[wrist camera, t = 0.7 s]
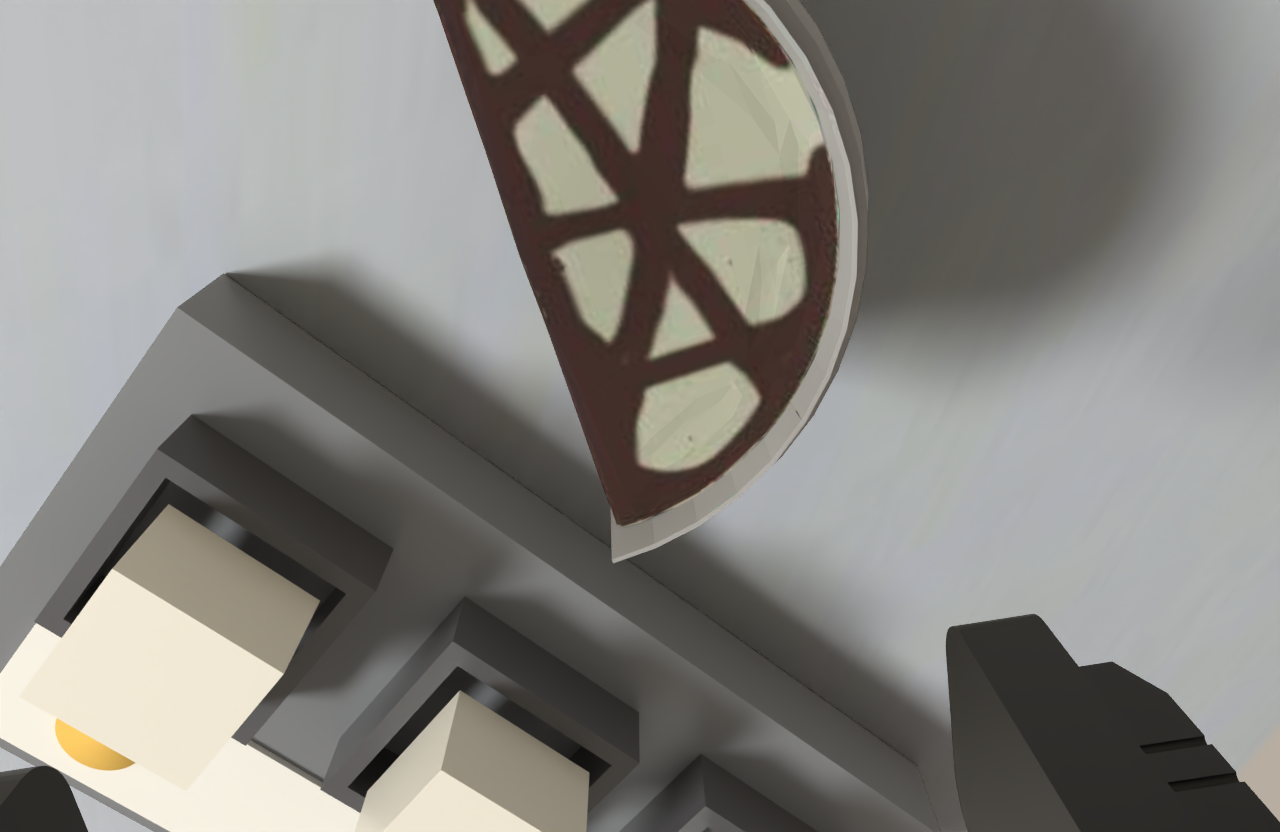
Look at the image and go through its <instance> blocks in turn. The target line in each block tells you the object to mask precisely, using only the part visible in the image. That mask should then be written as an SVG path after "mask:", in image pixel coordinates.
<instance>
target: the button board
mask: <svg viewBox="0 0 1280 832" xmlns="http://www.w3.org/2000/svg"><path fill="white" fill-rule="evenodd" d="M168 504H169V505H171V506H173V507H174V508H176V509H177V510H179V511H180V512H182V513H183V514H185V515H187V516H188V517H190V518H191V519H193V520H194V521H196V522H198V523H199V524H201V525H202V526H204V527H205V528H207V529H209V530H210V531H212V532H213V533H215V534H216V535H218V536H219V537H221V538H223V539H224V540H226V541H227V542H229V543H230V544H232V545H234V546H235V547H237V548H238V549H240V550H241V551H243V552H245V553H246V554H248V555H249V556H251V557H252V558H254V559H256V560H257V561H259V562H260V563H262V564H263V565H265V566H266V567H268V568H270V569H271V570H273V571H274V572H276V573H277V574H279V575H281V576H282V577H284V578H285V579H287V580H288V581H290V582H292V583H293V584H295V585H296V586H298V587H299V588H301V589H302V590H304V591H306V592H307V593H309V594H310V595H312V596H313V597H315V598H317V599H318V600H320V602H319V604H318V606H317V608H316V610H315V612H314V614H313V616H312V618H311V620H310V622H309V624H308V626H307V628H306V630H305V632H304V634H303V637H302V639H301V641H300V643H299V645H298V647H297V649H296V651H295V653H294V655H293V657H292V659H291V661H290V663H289V665H288V667H287V669H286V671H285V673H284V674H283V676H282V677H281V678H280V679H279V680H278V682H277V683H276V684H275V685H274V686H273V688H272V689H271V690H270V691H269V692H268V694H267V695H266V696H265V697H264V698H263V700H262V701H261V702H260V703H259V704H258V706H257V707H256V708H255V709H254V710H253V712H252V713H251V714H250V715H249V716H248V718H247V719H246V720H245V721H244V722H243V724H242V725H241V726H240V727H239V728H238V730H237V731H236V732H235V733H234V734H233V736H232V737H231V738H230V739H229V740H228V742H227V743H226V744H225V745H224V746H223V748H222V749H221V750H220V751H219V752H218V753H217V755H216V756H215V757H214V758H213V759H212V761H211V762H210V763H209V764H208V765H207V767H206V768H205V769H204V770H203V771H202V773H201V774H200V775H199V776H198V777H197V779H196V780H195V781H194V782H193V783H192V785H191V786H190V787H189V788H188V789H187V791H185V790H183V789H181V788H180V787H178V786H176V785H174V784H172V783H171V782H169V781H167V780H165V779H164V778H162V777H160V776H158V775H157V774H155V773H153V772H151V771H149V770H148V769H146V768H144V767H142V766H141V765H139V764H137V763H135V762H133V761H132V760H130V759H128V758H126V757H125V756H123V755H121V754H119V753H118V752H116V751H114V750H112V749H110V748H109V747H107V746H105V745H103V744H102V743H100V742H98V741H96V740H95V739H93V738H91V737H89V736H87V735H86V734H84V733H82V732H80V731H79V730H77V729H75V728H73V727H72V726H70V725H68V724H66V723H64V722H63V721H61V720H59V719H57V718H56V717H54V716H52V715H50V714H49V713H47V712H45V711H43V710H41V709H40V708H38V707H36V706H34V705H33V704H31V703H29V702H27V701H26V700H24V699H22V698H20V697H19V696H20V695H21V693H22V692H23V690H24V689H25V688H26V686H27V685H28V684H29V682H30V681H31V679H32V678H33V677H34V675H35V674H36V673H37V671H38V670H39V668H40V667H41V666H42V664H43V663H44V662H45V660H46V659H47V657H48V656H49V655H50V653H51V652H52V651H53V649H54V648H55V646H56V645H57V644H58V642H59V641H60V640H61V638H62V637H63V635H64V634H65V633H66V631H67V630H68V629H69V627H70V626H71V625H72V623H73V622H74V620H75V619H76V618H77V616H78V615H79V614H80V612H81V611H82V609H83V608H84V607H85V605H86V604H87V603H88V601H89V600H90V598H91V597H92V596H93V594H94V593H95V592H96V590H97V589H98V587H99V586H100V585H101V583H102V582H103V581H104V579H105V578H106V576H107V575H108V574H109V572H110V571H111V570H112V568H113V567H114V566H115V565H116V564H117V563H118V561H119V560H120V559H121V558H122V557H123V556H124V555H125V553H126V552H127V551H128V550H129V549H130V548H131V547H132V545H133V544H134V543H135V542H136V541H137V540H138V539H139V537H140V536H141V535H142V534H143V533H144V532H145V531H146V529H147V528H148V527H149V526H150V525H151V524H152V523H153V521H154V520H155V519H156V518H157V517H158V516H159V515H160V513H161V512H162V511H163V510H164V509H165V508H166V507H167V505H168ZM460 690H461V691H462V692H464V693H465V694H467V695H468V696H470V697H472V698H473V699H475V700H476V701H478V702H479V703H481V704H483V705H484V706H486V707H487V708H489V709H490V710H492V711H493V712H495V713H497V714H498V715H500V716H501V717H503V718H504V719H506V720H508V721H509V722H511V723H512V724H514V725H515V726H517V727H519V728H520V729H522V730H523V731H525V732H526V733H528V734H530V735H531V736H533V737H534V738H536V739H537V740H539V741H540V742H542V743H544V744H545V745H547V746H548V747H550V748H551V749H553V750H555V751H556V752H558V753H559V754H561V755H562V756H564V757H566V758H567V759H569V760H570V761H572V762H573V763H575V764H576V765H578V766H580V767H581V768H583V769H584V770H586V771H587V772H589V790H588V810H587V829H586V832H941V830H940V827H939V824H938V821H937V818H936V816H935V813H934V810H933V807H932V805H931V802H930V799H929V796H928V794H927V791H926V788H925V785H924V783H923V780H922V777H921V774H920V772H919V769H918V766H916V765H915V764H914V763H912V762H911V761H909V760H908V759H907V758H905V757H904V756H902V755H901V754H900V753H898V752H897V751H895V750H894V749H892V748H891V747H890V746H888V745H887V744H885V743H884V742H883V741H881V740H880V739H878V738H877V737H876V736H874V735H873V734H871V733H870V732H869V731H867V730H866V729H864V728H863V727H861V726H860V725H859V724H857V723H856V722H854V721H853V720H852V719H850V718H849V717H847V716H846V715H845V714H843V713H842V712H840V711H839V710H838V709H836V708H835V707H833V706H832V705H831V704H829V703H828V702H826V701H825V700H823V699H822V698H821V697H819V696H818V695H816V694H815V693H814V692H812V691H811V690H809V689H808V688H807V687H805V686H804V685H802V684H801V683H800V682H798V681H797V680H795V679H794V678H793V677H791V676H790V675H788V674H787V673H785V672H784V671H783V670H781V669H780V668H778V667H777V666H776V665H774V664H773V663H771V662H770V661H769V660H767V659H766V658H764V657H763V656H762V655H760V654H759V653H757V652H756V651H755V650H753V649H752V648H750V647H749V646H747V645H746V644H745V643H743V642H742V641H740V640H739V639H738V638H736V637H735V636H733V635H732V634H731V633H729V632H728V631H726V630H725V629H724V628H722V627H721V626H719V625H718V624H716V623H715V622H714V621H712V620H711V619H709V618H708V617H707V616H705V615H704V614H702V613H701V612H700V611H698V610H697V609H695V608H694V607H693V606H691V605H690V604H688V603H687V602H686V601H684V600H683V599H681V598H680V597H678V596H677V595H676V594H674V593H673V592H671V591H670V590H669V589H667V588H666V587H664V586H663V585H662V584H660V583H659V582H657V581H656V580H655V579H653V578H652V577H650V576H649V575H648V574H646V573H645V572H643V571H642V570H640V569H639V568H638V567H636V566H635V565H633V564H632V563H631V562H629V561H628V560H626V559H624V560H621V561H619V562H616V563H613V562H612V549H611V548H610V547H608V546H607V545H605V544H604V543H602V542H601V541H600V540H598V539H597V538H595V537H594V536H593V535H591V534H590V533H588V532H587V531H586V530H584V529H583V528H581V527H580V526H579V525H577V524H576V523H574V522H573V521H571V520H570V519H569V518H567V517H566V516H564V515H563V514H562V513H560V512H559V511H557V510H556V509H555V508H553V507H552V506H550V505H549V504H548V503H546V502H545V501H543V500H542V499H541V498H539V497H538V496H536V495H535V494H533V493H532V492H531V491H529V490H528V489H526V488H525V487H524V486H522V485H521V484H519V483H518V482H517V481H515V480H514V479H512V478H511V477H510V476H508V475H507V474H505V473H504V472H503V471H501V470H500V469H498V468H497V467H495V466H494V465H493V464H491V463H490V462H488V461H487V460H486V459H484V458H483V457H481V456H480V455H479V454H477V453H476V452H474V451H473V450H472V449H470V448H469V447H467V446H466V445H465V444H463V443H462V442H460V441H459V440H457V439H456V438H455V437H453V436H452V435H450V434H449V433H448V432H446V431H445V430H443V429H442V428H441V427H439V426H438V425H436V424H435V423H434V422H432V421H431V420H429V419H428V418H426V417H425V416H424V415H422V414H421V413H419V412H418V411H417V410H415V409H414V408H412V407H411V406H410V405H408V404H407V403H405V402H404V401H403V400H401V399H400V398H398V397H397V396H396V395H394V394H393V393H391V392H390V391H388V390H387V389H386V388H384V387H383V386H381V385H380V384H379V383H377V382H376V381H374V380H373V379H372V378H370V377H369V376H367V375H366V374H365V373H363V372H362V371H360V370H359V369H358V368H356V367H355V366H353V365H352V364H350V363H349V362H348V361H346V360H345V359H343V358H342V357H341V356H339V355H338V354H336V353H335V352H334V351H332V350H331V349H329V348H328V347H327V346H325V345H324V344H322V343H321V342H320V341H318V340H317V339H315V338H314V337H312V336H311V335H310V334H308V333H307V332H305V331H304V330H303V329H301V328H300V327H298V326H297V325H296V324H294V323H293V322H291V321H290V320H289V319H287V318H286V317H284V316H283V315H282V314H280V313H279V312H277V311H276V310H274V309H273V308H272V307H270V306H269V305H267V304H266V303H265V302H263V301H262V300H260V299H259V298H258V297H256V296H255V295H253V294H252V293H251V292H249V291H248V290H246V289H245V288H243V287H242V286H241V285H239V284H238V283H236V282H235V281H234V280H232V279H231V278H229V277H228V276H227V275H225V274H222V275H221V276H220V277H218V278H217V279H216V280H214V281H213V282H211V283H210V284H209V285H207V286H206V287H205V288H203V289H202V290H200V291H199V292H198V293H196V294H195V295H194V296H192V297H191V298H190V299H188V300H187V301H185V302H184V303H183V304H181V305H180V306H179V307H177V309H176V310H175V312H174V313H173V314H172V316H171V317H170V319H169V320H168V322H167V323H166V325H165V326H164V328H163V329H162V331H161V332H160V334H159V335H158V336H157V338H156V339H155V341H154V342H153V344H152V345H151V347H150V348H149V350H148V351H147V353H146V354H145V356H144V357H143V358H142V360H141V361H140V363H139V364H138V366H137V367H136V369H135V370H134V372H133V373H132V375H131V376H130V377H129V379H128V380H127V382H126V383H125V385H124V386H123V388H122V389H121V391H120V392H119V394H118V395H117V397H116V398H115V399H114V401H113V402H112V404H111V405H110V407H109V408H108V410H107V411H106V413H105V414H104V416H103V417H102V419H101V420H100V421H99V423H98V424H97V426H96V427H95V429H94V430H93V432H92V433H91V435H90V436H89V438H88V439H87V441H86V442H85V443H84V445H83V446H82V448H81V449H80V451H79V452H78V454H77V455H76V457H75V458H74V460H73V461H72V463H71V464H70V465H69V467H68V468H67V470H66V471H65V473H64V474H63V476H62V477H61V479H60V480H59V482H58V483H57V484H56V486H55V487H54V489H53V490H52V492H51V493H50V495H49V496H48V498H47V499H46V501H45V502H44V504H43V505H42V506H41V508H40V509H39V511H38V512H37V514H36V515H35V517H34V518H33V520H32V521H31V523H30V524H29V526H28V527H27V528H26V530H25V531H24V533H23V534H22V536H21V537H20V539H19V540H18V542H17V543H16V545H15V546H14V548H13V549H12V550H11V552H10V553H9V555H8V556H7V558H6V559H5V561H4V562H3V564H2V565H1V567H0V747H1V748H3V749H5V750H7V751H8V752H10V753H12V754H14V755H16V756H17V757H19V758H21V759H23V760H25V761H27V762H28V763H30V764H32V765H34V766H36V767H37V766H50V767H53V768H55V769H56V770H58V771H59V772H60V773H61V774H62V775H63V776H64V778H65V779H66V780H67V782H68V784H69V785H70V786H72V787H74V788H76V789H78V790H79V791H81V792H83V793H85V794H87V795H88V796H90V797H92V798H94V799H96V800H98V801H99V802H101V803H103V804H105V805H107V806H108V807H110V808H112V809H114V810H116V811H118V812H119V813H121V814H123V815H125V816H127V817H128V818H130V819H132V820H134V821H136V822H138V823H139V824H141V825H143V826H145V827H147V828H149V829H150V830H152V831H154V832H355V828H356V825H357V822H358V819H359V816H360V813H361V810H362V807H363V804H364V801H365V797H366V794H367V791H368V790H369V789H370V788H371V787H372V786H373V785H374V784H375V782H376V781H377V780H378V779H379V778H380V777H381V776H382V775H383V774H384V773H385V772H386V770H387V769H388V768H389V767H390V766H391V765H392V764H393V763H394V762H395V761H396V760H397V758H398V757H399V756H400V755H401V754H402V753H403V752H404V751H405V750H406V749H407V748H408V746H409V745H410V744H411V743H412V742H413V741H414V740H415V739H416V738H417V737H418V735H419V734H420V733H421V732H422V731H423V730H424V729H425V728H426V727H427V726H428V725H429V723H430V722H431V721H432V720H433V719H434V718H435V717H436V716H437V715H438V714H439V713H440V711H441V710H442V709H443V708H444V707H445V706H446V705H447V704H448V703H449V702H450V701H451V699H452V698H453V697H454V696H455V695H456V694H457V693H458V692H459V691H460Z"/></svg>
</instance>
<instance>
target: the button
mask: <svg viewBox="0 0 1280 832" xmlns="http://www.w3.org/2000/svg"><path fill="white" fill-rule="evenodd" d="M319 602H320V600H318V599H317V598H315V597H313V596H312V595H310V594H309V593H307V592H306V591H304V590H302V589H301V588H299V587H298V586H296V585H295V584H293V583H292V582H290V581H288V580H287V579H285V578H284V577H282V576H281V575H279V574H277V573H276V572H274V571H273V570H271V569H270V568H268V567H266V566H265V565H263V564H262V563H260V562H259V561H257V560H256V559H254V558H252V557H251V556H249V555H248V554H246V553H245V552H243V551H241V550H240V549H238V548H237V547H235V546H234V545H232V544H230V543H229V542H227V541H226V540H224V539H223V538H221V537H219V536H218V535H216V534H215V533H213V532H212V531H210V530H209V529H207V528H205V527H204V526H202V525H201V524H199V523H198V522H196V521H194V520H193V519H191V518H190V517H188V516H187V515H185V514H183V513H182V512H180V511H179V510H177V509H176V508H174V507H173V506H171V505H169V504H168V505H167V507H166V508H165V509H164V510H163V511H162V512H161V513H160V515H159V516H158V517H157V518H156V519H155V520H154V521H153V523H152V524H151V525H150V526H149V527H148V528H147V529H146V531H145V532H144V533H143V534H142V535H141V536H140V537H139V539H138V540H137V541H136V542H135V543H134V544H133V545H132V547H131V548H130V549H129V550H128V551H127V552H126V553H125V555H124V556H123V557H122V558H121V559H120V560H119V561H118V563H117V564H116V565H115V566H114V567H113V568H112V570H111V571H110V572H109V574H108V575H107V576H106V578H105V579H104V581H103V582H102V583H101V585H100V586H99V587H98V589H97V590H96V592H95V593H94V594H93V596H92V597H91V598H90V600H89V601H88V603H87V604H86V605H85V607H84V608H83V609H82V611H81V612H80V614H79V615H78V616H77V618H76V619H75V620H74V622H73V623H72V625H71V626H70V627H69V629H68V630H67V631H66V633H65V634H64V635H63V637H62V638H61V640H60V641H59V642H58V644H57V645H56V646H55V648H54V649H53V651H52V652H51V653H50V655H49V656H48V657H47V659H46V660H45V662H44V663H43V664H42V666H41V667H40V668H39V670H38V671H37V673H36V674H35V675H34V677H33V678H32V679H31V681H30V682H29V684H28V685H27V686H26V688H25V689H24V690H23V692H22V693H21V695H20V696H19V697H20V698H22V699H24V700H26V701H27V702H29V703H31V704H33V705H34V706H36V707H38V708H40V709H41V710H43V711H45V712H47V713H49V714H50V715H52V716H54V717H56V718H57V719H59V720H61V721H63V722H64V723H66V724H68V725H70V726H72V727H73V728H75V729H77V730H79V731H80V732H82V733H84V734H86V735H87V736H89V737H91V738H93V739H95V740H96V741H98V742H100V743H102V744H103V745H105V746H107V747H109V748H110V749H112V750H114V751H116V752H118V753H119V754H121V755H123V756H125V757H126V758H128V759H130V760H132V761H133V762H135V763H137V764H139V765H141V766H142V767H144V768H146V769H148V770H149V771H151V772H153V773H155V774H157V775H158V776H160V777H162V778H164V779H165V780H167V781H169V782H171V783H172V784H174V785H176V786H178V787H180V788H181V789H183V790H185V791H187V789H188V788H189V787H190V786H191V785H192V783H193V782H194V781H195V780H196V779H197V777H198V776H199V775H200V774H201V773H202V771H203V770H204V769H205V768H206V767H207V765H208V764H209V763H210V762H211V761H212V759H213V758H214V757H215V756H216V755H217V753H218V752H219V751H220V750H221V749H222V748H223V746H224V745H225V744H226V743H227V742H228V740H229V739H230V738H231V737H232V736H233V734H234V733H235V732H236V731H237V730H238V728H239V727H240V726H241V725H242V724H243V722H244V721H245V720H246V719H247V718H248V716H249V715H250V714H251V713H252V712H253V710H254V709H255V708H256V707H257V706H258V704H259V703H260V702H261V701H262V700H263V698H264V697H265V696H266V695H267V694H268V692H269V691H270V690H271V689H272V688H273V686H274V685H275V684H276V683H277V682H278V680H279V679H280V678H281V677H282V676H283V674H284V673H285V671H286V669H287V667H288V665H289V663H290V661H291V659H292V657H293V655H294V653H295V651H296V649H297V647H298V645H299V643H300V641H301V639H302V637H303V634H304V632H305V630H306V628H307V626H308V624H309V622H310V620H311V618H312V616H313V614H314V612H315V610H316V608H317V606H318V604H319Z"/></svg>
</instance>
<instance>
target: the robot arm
mask: <svg viewBox="0 0 1280 832" xmlns="http://www.w3.org/2000/svg"><path fill="white" fill-rule="evenodd" d="M946 657H947V671H948V685H949V699H950V713H951V727H952V741H953V754H954V768H955V778H956V785H957V790H958V796H959V800H960V805H961V809H962V813H963V816H964V820H965V823H966V827H967V830H968V832H1280V822H1279V821H1278V820H1277V818H1276V817H1275V816H1274V815H1273V814H1272V813H1271V812H1270V810H1269V809H1268V808H1267V807H1266V806H1265V805H1264V803H1263V802H1262V801H1261V800H1260V799H1259V798H1258V797H1257V795H1256V794H1255V793H1254V792H1253V791H1252V790H1251V789H1250V787H1249V786H1248V785H1247V784H1246V783H1245V782H1239V781H1238V778H1237V775H1236V771H1235V770H1234V769H1233V768H1232V767H1231V766H1230V764H1229V763H1228V762H1227V761H1226V760H1225V759H1224V758H1223V756H1222V755H1221V754H1220V753H1219V752H1218V751H1217V750H1216V748H1215V747H1214V746H1213V745H1212V744H1211V745H1207V743H1206V741H1205V737H1204V735H1203V733H1202V732H1201V731H1200V730H1199V729H1198V728H1197V727H1196V725H1195V724H1194V723H1193V722H1192V721H1191V720H1190V719H1189V717H1188V716H1187V715H1186V714H1185V713H1184V712H1183V711H1182V709H1181V708H1180V707H1179V706H1178V705H1177V704H1176V702H1175V701H1174V700H1173V699H1172V698H1171V697H1170V696H1169V694H1168V693H1166V692H1164V691H1163V690H1161V689H1159V688H1157V687H1156V686H1154V685H1152V684H1150V683H1149V682H1147V681H1145V680H1143V679H1142V678H1140V677H1138V676H1136V675H1135V674H1133V673H1131V672H1129V671H1128V670H1126V669H1124V668H1122V667H1121V666H1119V665H1117V664H1115V663H1114V662H1107V663H1100V664H1094V665H1087V666H1081V667H1078V665H1077V664H1076V663H1075V661H1074V660H1073V659H1072V657H1071V656H1070V655H1069V654H1068V652H1067V651H1066V650H1065V648H1064V647H1063V646H1062V644H1061V643H1060V642H1059V640H1058V639H1057V638H1056V637H1055V635H1054V634H1053V633H1052V631H1051V630H1050V629H1049V627H1048V626H1047V625H1046V623H1045V622H1044V621H1043V620H1042V619H1041V618H1040V617H1039V616H1037V615H1035V614H1029V615H1023V616H1016V617H1010V618H1003V619H997V620H991V621H984V622H978V623H971V624H965V625H958V626H952V627H950V628H949V629H948V632H947V637H946ZM0 832H88V830H87V828H86V825H85V823H84V820H83V818H82V815H81V813H80V810H79V808H78V806H77V803H76V801H75V798H74V796H73V793H72V791H71V788H70V786H69V784H68V782H67V780H66V779H65V778H64V776H63V775H62V774H61V773H60V772H59V771H58V770H56V769H55V768H53V767H50V766H37V767H31V768H24V769H18V770H12V771H5V772H0Z"/></svg>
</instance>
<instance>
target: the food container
mask: <svg viewBox="0 0 1280 832" xmlns="http://www.w3.org/2000/svg"><path fill="white" fill-rule="evenodd" d="M434 3H435V6H436V8H437V11H438V14H439V16H440V19H441V22H442V25H443V28H444V31H445V34H446V37H447V40H448V43H449V46H450V49H451V52H452V55H453V58H454V60H455V63H456V66H457V69H458V72H459V75H460V78H461V81H462V84H463V87H464V90H465V93H466V96H467V99H468V102H469V104H470V107H471V110H472V113H473V116H474V119H475V122H476V125H477V128H478V131H479V134H480V136H481V139H482V142H483V145H484V148H485V151H486V154H487V157H488V160H489V163H490V166H491V169H492V172H493V175H494V178H495V181H496V185H497V188H498V191H499V194H500V197H501V200H502V203H503V206H504V209H505V212H506V215H507V218H508V221H509V224H510V228H511V231H512V234H513V237H514V240H515V243H516V246H517V249H518V252H519V255H520V258H521V261H522V264H523V266H524V269H525V271H526V274H527V277H528V279H529V282H530V285H531V287H532V290H533V293H534V295H535V298H536V301H537V303H538V306H539V308H540V311H541V314H542V316H543V319H544V322H545V324H546V327H547V330H548V332H549V335H550V338H551V341H552V344H553V347H554V349H555V352H556V355H557V358H558V361H559V363H560V366H561V369H562V372H563V375H564V378H565V380H566V383H567V386H568V389H569V392H570V394H571V397H572V400H573V403H574V406H575V409H576V412H577V414H578V417H579V420H580V423H581V426H582V429H583V431H584V434H585V437H586V440H587V443H588V446H589V449H590V451H591V454H592V457H593V460H594V463H595V466H596V469H597V471H598V474H599V477H600V480H601V482H602V485H603V488H604V491H605V493H606V496H607V499H608V502H609V504H610V511H611V548H612V562H613V563H616V562H619V561H621V560H624V559H627V558H630V557H633V556H636V555H638V554H641V553H644V552H647V551H650V550H653V549H655V548H658V547H660V546H661V545H663V544H665V543H667V542H669V541H671V540H673V539H675V538H677V537H679V536H681V535H683V534H685V533H687V532H689V531H691V530H693V529H695V528H697V527H698V526H700V525H702V524H703V523H704V522H706V521H707V520H709V519H710V518H711V517H713V516H714V515H716V514H717V513H718V512H720V511H721V510H723V509H724V508H725V507H727V506H728V505H730V504H731V503H732V502H734V501H735V500H737V499H738V498H739V497H740V496H741V495H742V494H744V493H745V492H746V491H747V490H748V489H749V488H750V487H751V486H752V485H753V484H754V483H755V482H756V481H757V480H758V479H759V478H760V477H761V476H762V475H763V474H764V473H765V472H766V471H767V470H768V469H769V468H770V467H771V466H772V465H774V464H775V463H776V462H777V461H778V460H779V459H780V458H781V457H782V456H783V454H784V453H785V452H786V451H787V449H788V448H789V447H790V445H791V444H792V443H793V441H794V440H795V439H796V438H797V436H798V435H799V434H800V432H801V431H802V430H803V428H804V427H805V426H806V425H807V423H808V422H809V421H810V419H811V418H812V417H813V415H814V414H815V412H816V410H817V408H818V406H819V404H820V403H821V401H822V399H823V397H824V395H825V393H826V392H827V390H828V388H829V386H830V384H831V383H832V381H833V379H834V377H835V375H836V373H837V372H838V370H839V367H840V364H841V361H842V358H843V356H844V353H845V350H846V347H847V345H848V342H849V339H850V336H851V334H852V331H853V328H854V325H855V323H856V319H857V314H858V308H859V303H860V298H861V293H862V288H863V282H864V277H865V272H866V263H867V232H868V192H869V191H868V183H867V176H866V169H865V161H864V154H863V146H862V139H861V134H860V130H859V127H858V124H857V120H856V117H855V114H854V111H853V107H852V104H851V101H850V98H849V94H848V91H847V88H846V84H845V81H844V79H843V77H842V75H841V73H840V71H839V69H838V66H837V64H836V62H835V60H834V58H833V56H832V54H831V52H830V50H829V48H828V46H827V44H826V42H825V40H824V38H823V36H822V34H821V32H820V30H819V28H818V26H817V25H816V23H815V22H814V21H813V19H812V18H811V16H810V15H809V14H808V12H807V11H806V9H805V8H804V7H803V5H802V4H801V2H800V1H799V0H434Z"/></svg>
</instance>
